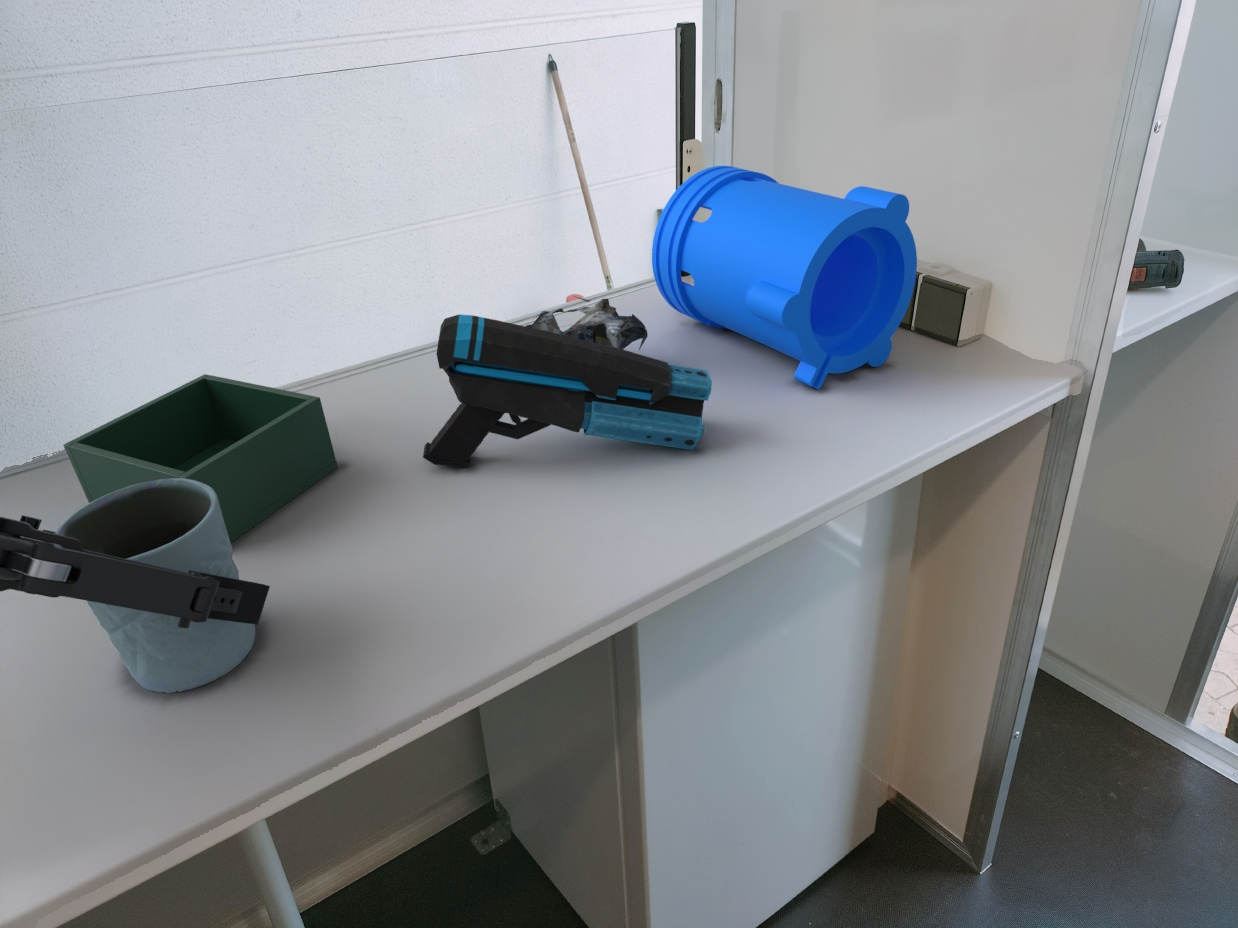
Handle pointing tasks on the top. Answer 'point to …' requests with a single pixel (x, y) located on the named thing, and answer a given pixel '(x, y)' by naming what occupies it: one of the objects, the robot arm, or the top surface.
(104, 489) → the open box
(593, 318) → the foil
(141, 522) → the grey-blue textured cup
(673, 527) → the top surface
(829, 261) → the tube
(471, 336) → the gun
